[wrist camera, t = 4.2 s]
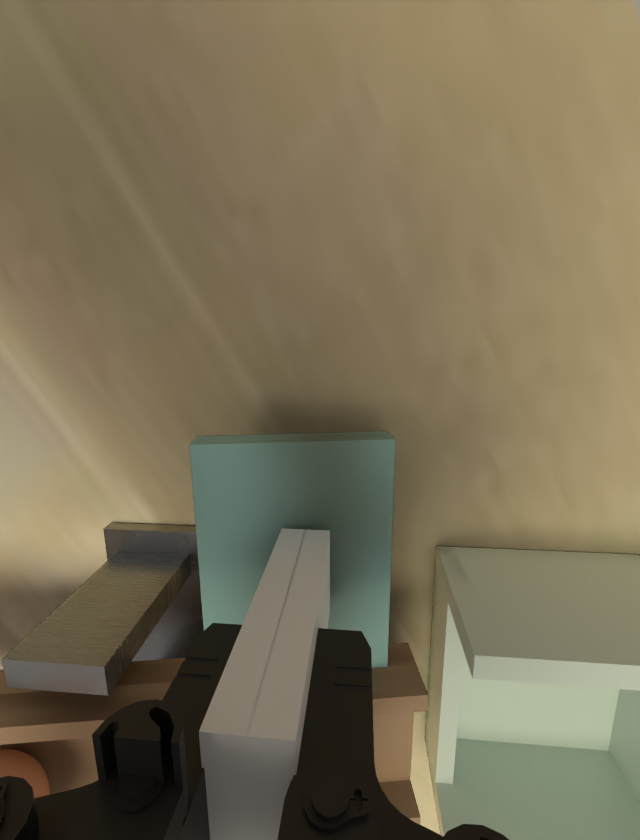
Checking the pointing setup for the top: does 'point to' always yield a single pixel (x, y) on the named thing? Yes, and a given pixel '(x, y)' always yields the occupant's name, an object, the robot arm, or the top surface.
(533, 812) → the tray
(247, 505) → the lever
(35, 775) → the ball
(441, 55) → the top surface
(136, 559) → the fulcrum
